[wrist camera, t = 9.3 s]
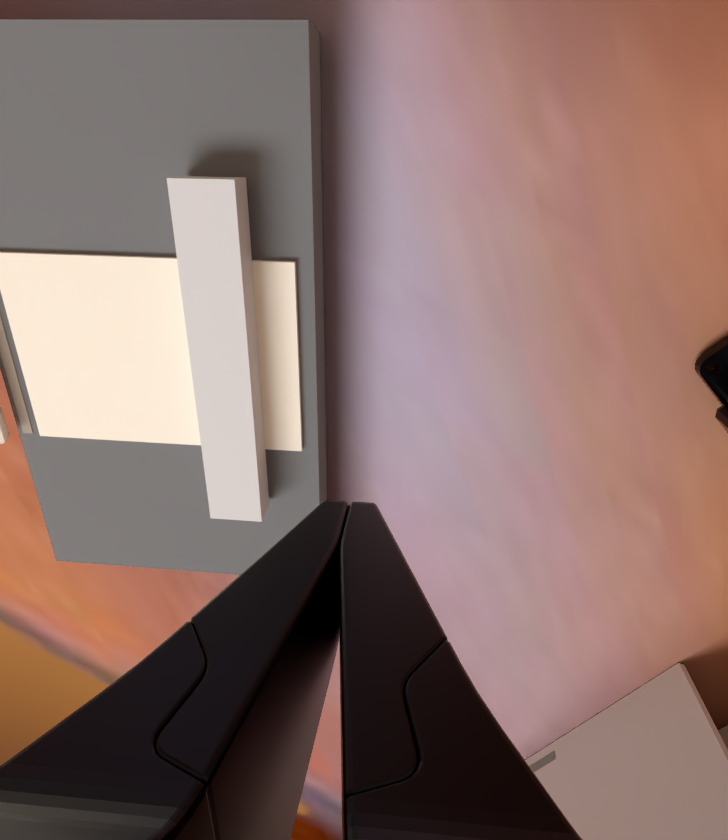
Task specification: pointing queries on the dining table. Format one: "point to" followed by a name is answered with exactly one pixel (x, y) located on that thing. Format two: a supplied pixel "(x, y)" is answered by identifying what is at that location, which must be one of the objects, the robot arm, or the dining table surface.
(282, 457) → the board
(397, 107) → the dining table surface
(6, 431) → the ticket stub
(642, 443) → the dining table surface
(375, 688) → the robot arm
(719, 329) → the dining table surface
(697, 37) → the dining table surface
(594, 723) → the brochure
